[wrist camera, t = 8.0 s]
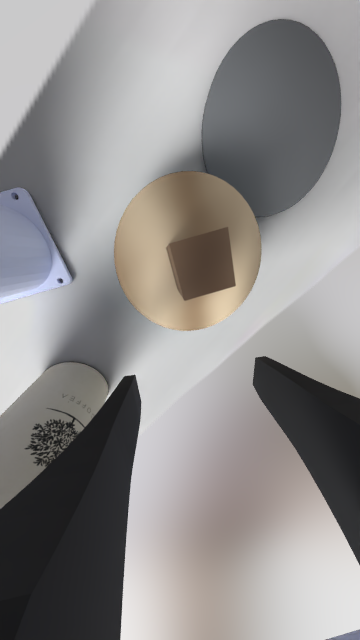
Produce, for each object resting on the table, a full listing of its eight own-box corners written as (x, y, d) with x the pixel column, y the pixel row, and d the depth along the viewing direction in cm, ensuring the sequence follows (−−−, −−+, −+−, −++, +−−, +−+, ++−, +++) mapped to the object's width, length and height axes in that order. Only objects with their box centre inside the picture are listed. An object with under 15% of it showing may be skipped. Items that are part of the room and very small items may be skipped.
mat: (215, 230, 17) (217, 230, 16) (186, 52, 12) (187, 42, 12) (328, 198, 17) (334, 196, 16) (340, 11, 12) (349, -1, 12)
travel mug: (66, 417, 23) (-192, 865, 6) (26, 375, 20) (-707, 1025, 3) (119, 397, 23) (7, 798, 6) (87, 350, 20) (-331, 898, 3)
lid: (145, 341, 15) (139, 376, 11) (90, 201, 11) (43, 163, 6) (260, 307, 15) (302, 328, 11) (248, 157, 11) (308, 90, 7)
